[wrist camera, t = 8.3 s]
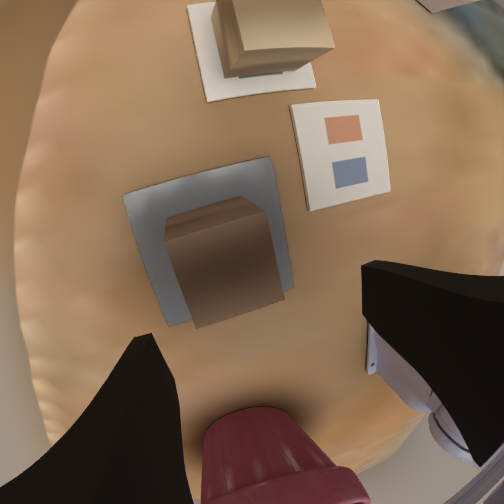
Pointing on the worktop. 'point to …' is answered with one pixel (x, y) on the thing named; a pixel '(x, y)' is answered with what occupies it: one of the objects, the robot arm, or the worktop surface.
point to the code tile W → (340, 151)
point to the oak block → (269, 35)
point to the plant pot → (271, 464)
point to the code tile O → (241, 85)
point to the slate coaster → (191, 197)
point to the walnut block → (223, 259)
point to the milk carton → (443, 4)
